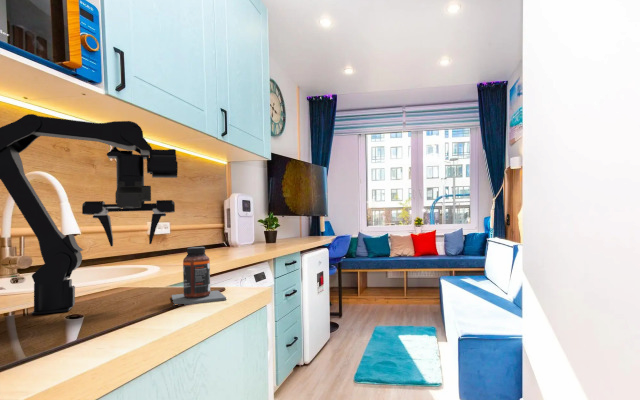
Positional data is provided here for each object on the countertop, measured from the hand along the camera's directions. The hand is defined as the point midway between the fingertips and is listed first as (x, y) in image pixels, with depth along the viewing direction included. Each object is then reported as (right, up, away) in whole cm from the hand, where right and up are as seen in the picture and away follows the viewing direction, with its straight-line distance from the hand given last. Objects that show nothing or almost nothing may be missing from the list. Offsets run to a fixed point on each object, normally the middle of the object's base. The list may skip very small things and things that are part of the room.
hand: (131, 245), depth 90 cm
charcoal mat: (+15, -13, +1) cm, 20 cm away
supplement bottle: (+15, -12, +1) cm, 19 cm away
